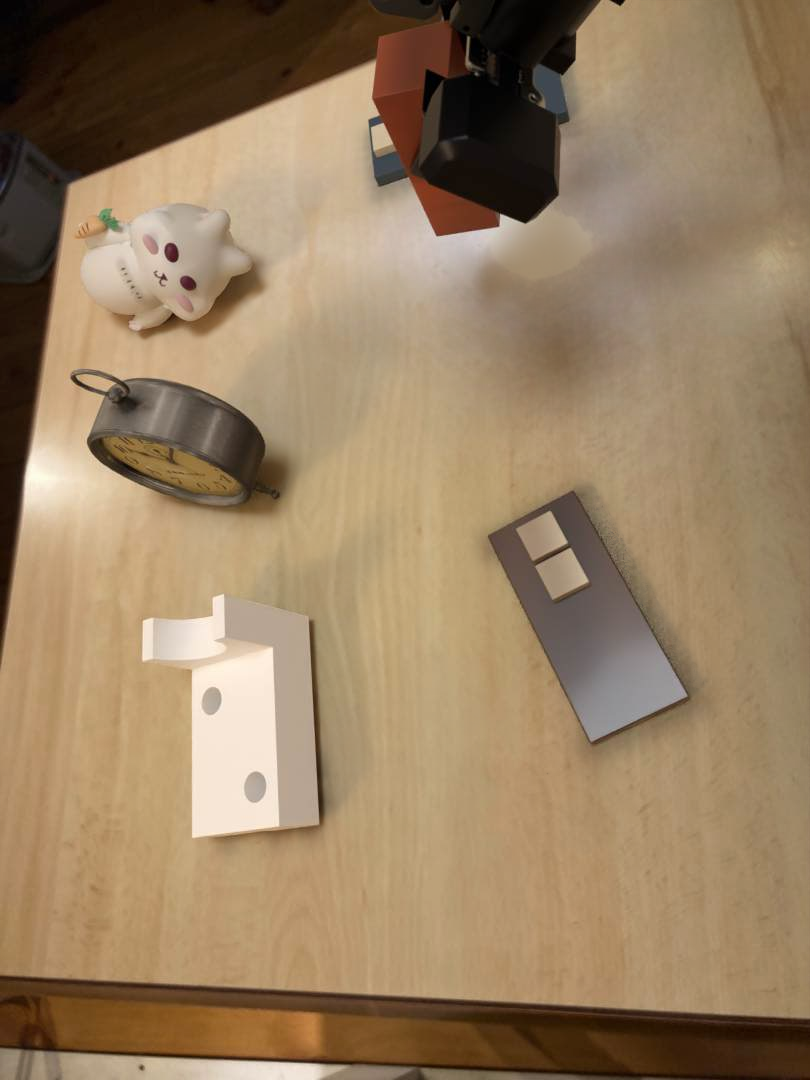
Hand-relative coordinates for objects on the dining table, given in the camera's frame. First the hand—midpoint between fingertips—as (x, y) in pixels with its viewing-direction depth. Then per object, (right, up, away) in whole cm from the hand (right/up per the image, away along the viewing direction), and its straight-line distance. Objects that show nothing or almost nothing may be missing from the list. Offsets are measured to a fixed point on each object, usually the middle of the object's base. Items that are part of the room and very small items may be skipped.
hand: (420, 142), depth 47 cm
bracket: (-10, -35, +8) cm, 37 cm away
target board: (+4, +10, +18) cm, 20 cm away
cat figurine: (-18, -2, +22) cm, 29 cm away
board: (+10, -27, +3) cm, 29 cm away
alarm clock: (-14, -18, +15) cm, 27 cm away
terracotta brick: (+3, -2, +5) cm, 6 cm away
